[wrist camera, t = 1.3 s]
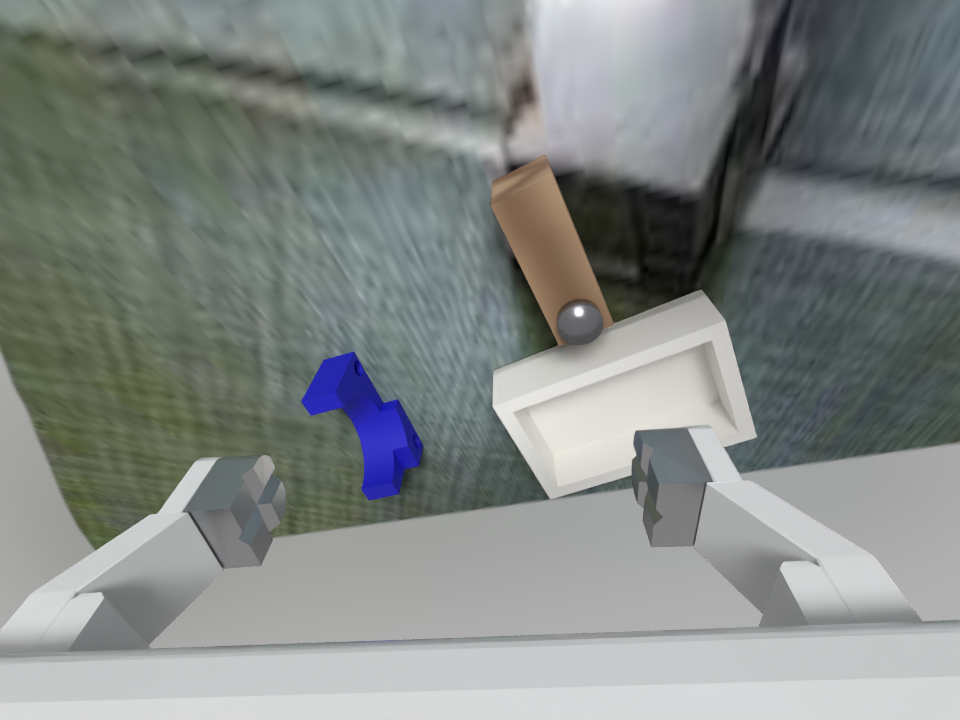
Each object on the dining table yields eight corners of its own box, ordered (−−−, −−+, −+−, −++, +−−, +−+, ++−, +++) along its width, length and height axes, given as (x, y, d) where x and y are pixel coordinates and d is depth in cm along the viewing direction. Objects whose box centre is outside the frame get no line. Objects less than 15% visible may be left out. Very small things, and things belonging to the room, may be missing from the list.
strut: (545, 154, 34) (554, 180, 28) (599, 287, 39) (616, 332, 33) (492, 180, 35) (490, 211, 29) (552, 306, 40) (560, 353, 34)
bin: (701, 289, 39) (725, 320, 34) (733, 399, 44) (757, 437, 40) (493, 370, 44) (492, 406, 39) (546, 459, 49) (550, 499, 45)
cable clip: (423, 443, 49) (414, 490, 44) (382, 453, 50) (368, 500, 45) (369, 346, 43) (352, 387, 38) (324, 359, 44) (301, 401, 39)
